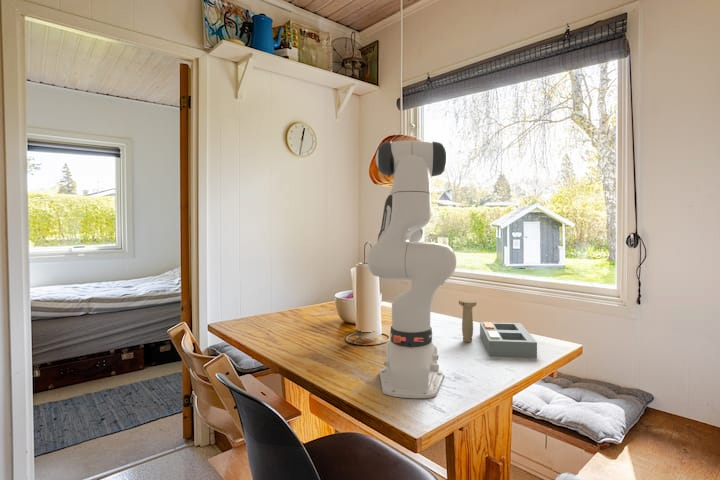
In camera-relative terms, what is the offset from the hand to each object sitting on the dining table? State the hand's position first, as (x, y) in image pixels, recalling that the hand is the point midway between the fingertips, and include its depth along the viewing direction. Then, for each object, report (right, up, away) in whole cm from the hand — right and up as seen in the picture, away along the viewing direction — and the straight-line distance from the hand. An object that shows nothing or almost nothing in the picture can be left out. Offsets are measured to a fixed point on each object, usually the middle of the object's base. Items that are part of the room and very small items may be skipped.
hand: (437, 285), depth 155 cm
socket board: (+23, -20, -12) cm, 33 cm away
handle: (+10, -20, -7) cm, 23 cm away
